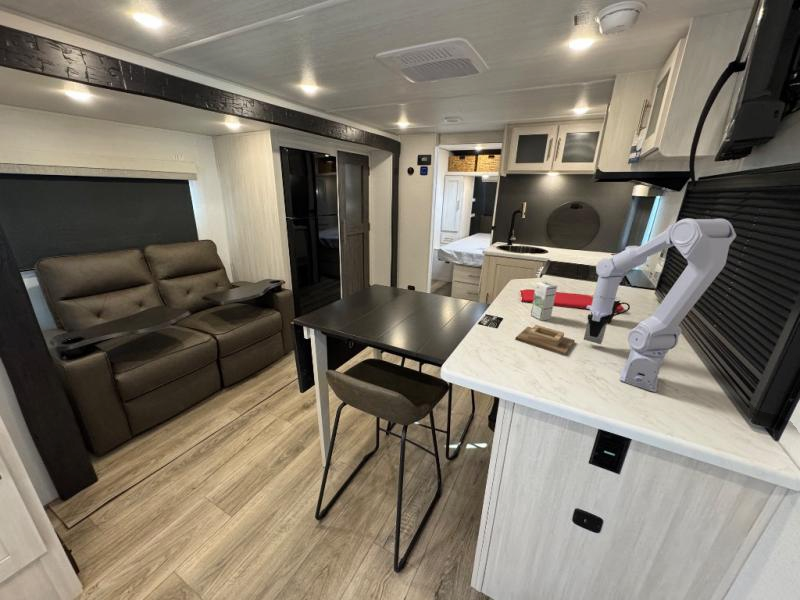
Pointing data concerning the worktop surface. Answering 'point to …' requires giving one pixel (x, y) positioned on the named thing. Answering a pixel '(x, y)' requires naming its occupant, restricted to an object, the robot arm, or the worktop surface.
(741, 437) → the worktop surface
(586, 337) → the brushed grey block
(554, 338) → the slot block
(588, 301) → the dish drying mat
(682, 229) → the robot arm
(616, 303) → the coffee mug
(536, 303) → the syrup box
